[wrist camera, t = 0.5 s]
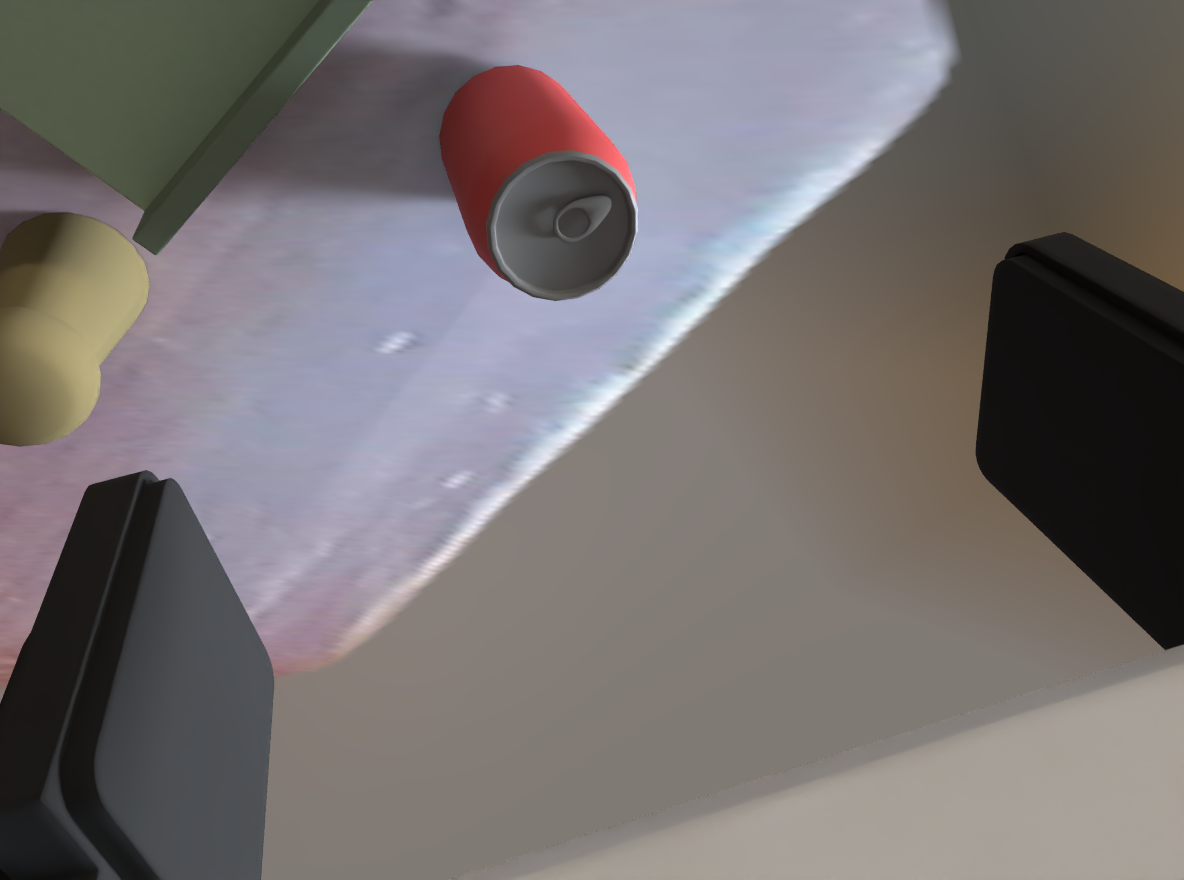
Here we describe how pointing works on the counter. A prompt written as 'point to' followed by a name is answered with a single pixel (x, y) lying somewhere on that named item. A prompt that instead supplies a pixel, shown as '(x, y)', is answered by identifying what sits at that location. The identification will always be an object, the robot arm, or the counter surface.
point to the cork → (61, 320)
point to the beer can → (538, 184)
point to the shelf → (160, 87)
